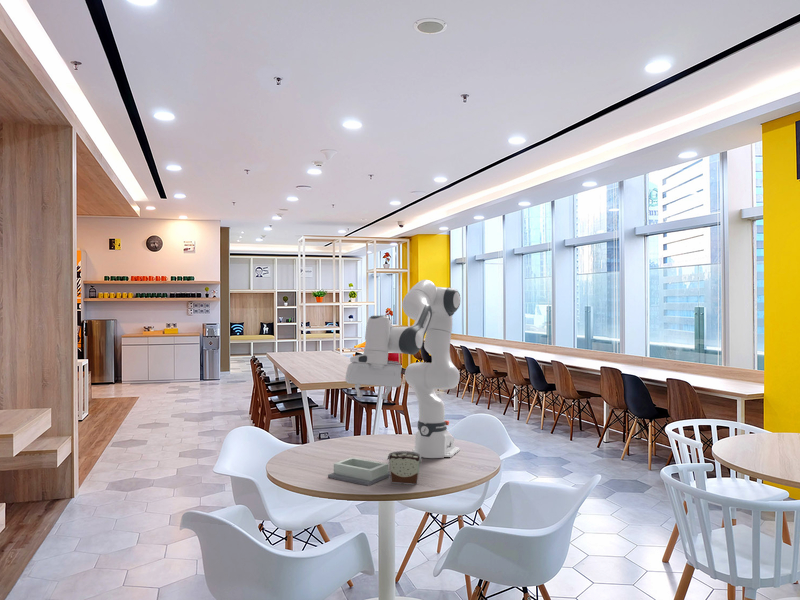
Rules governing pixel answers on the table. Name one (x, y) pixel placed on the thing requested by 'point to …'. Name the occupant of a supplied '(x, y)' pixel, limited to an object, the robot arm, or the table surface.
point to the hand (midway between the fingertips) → (372, 398)
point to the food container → (404, 467)
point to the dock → (360, 471)
